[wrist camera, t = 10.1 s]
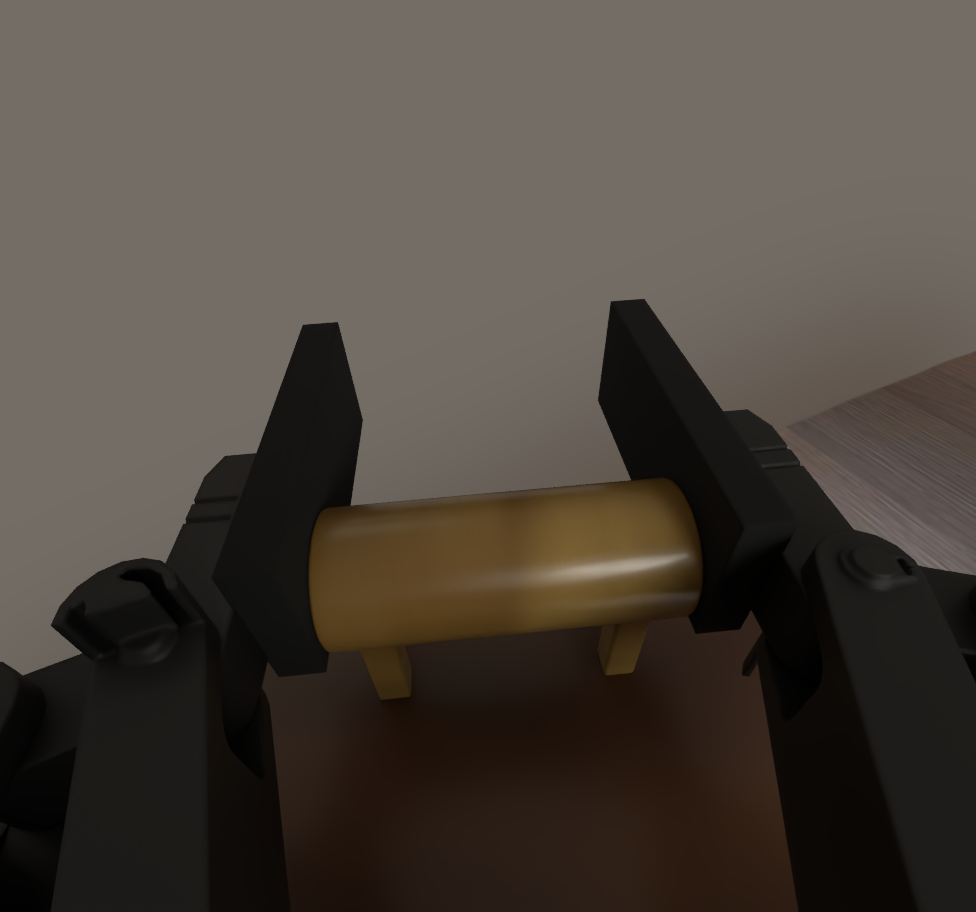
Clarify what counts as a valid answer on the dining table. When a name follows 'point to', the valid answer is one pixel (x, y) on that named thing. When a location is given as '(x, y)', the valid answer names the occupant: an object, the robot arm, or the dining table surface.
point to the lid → (524, 715)
